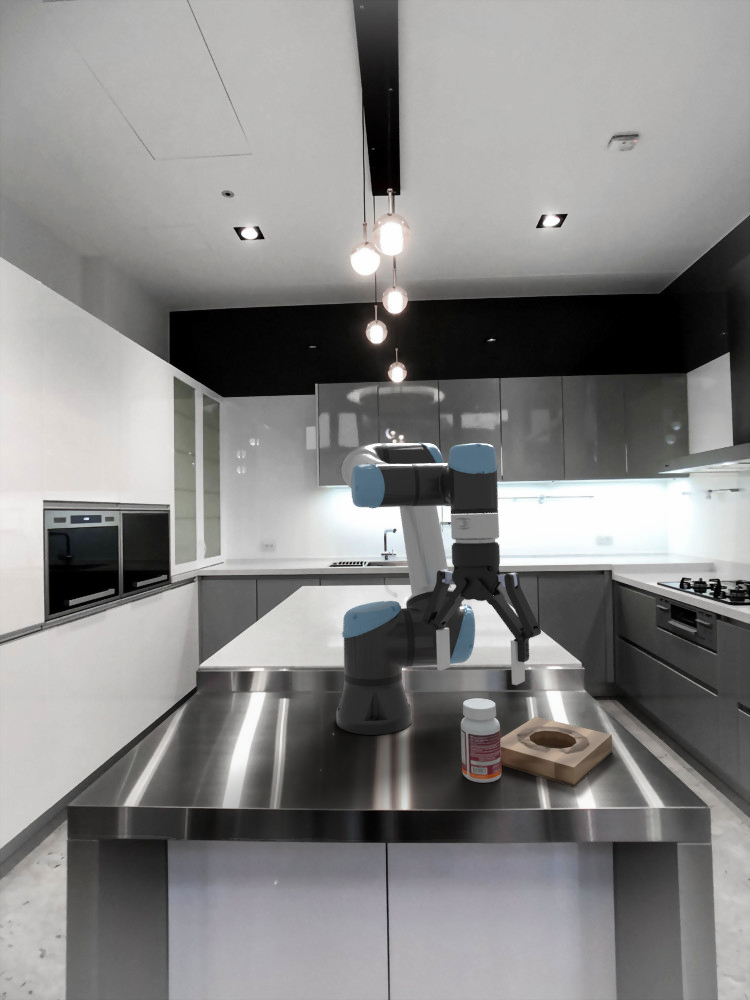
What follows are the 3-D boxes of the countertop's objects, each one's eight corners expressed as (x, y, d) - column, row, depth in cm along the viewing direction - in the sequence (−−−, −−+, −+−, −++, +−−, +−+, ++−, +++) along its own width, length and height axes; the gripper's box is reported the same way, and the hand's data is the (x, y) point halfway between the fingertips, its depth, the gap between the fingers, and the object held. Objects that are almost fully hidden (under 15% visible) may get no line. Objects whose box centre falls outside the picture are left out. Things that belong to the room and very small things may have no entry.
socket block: (492, 762, 96) (491, 744, 96) (535, 732, 108) (535, 716, 108) (574, 787, 86) (573, 767, 86) (612, 752, 98) (611, 734, 98)
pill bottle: (509, 776, 90) (507, 704, 91) (481, 788, 87) (478, 712, 87) (482, 763, 95) (480, 694, 96) (453, 773, 92) (451, 702, 92)
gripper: (399, 541, 97) (403, 668, 97) (537, 543, 81) (542, 695, 80) (426, 539, 103) (429, 659, 102) (560, 540, 86) (565, 683, 86)
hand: (479, 675), depth 91 cm, fingers open, 13 cm apart
